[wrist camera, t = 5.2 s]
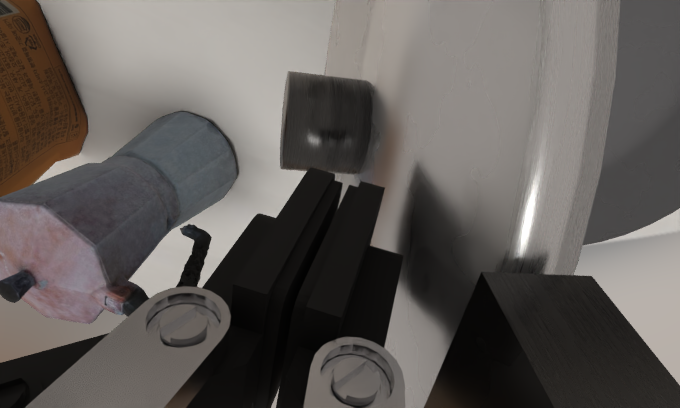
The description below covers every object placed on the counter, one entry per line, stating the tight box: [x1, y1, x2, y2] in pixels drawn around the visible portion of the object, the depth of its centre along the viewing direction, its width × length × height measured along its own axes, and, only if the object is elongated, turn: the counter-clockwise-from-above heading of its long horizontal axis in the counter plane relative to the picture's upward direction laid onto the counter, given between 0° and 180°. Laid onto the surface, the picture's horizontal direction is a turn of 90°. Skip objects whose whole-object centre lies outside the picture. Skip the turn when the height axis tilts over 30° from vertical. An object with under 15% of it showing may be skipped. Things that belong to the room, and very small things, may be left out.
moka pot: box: [0, 112, 237, 324], centre depth 36 cm, size 10×15×20 cm, turn 77°
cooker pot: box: [583, 0, 680, 245], centre depth 28 cm, size 23×20×12 cm
